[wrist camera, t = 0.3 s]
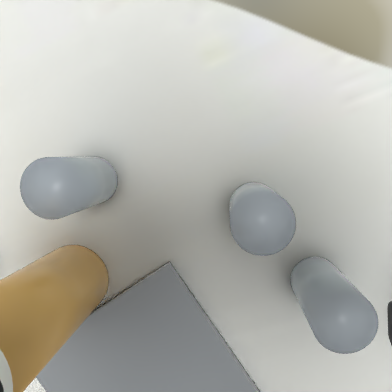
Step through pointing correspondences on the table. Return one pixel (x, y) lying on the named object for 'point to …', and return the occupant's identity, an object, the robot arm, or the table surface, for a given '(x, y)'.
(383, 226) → the table surface
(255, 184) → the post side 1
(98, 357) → the tile
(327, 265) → the side post
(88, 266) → the vial
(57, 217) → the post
